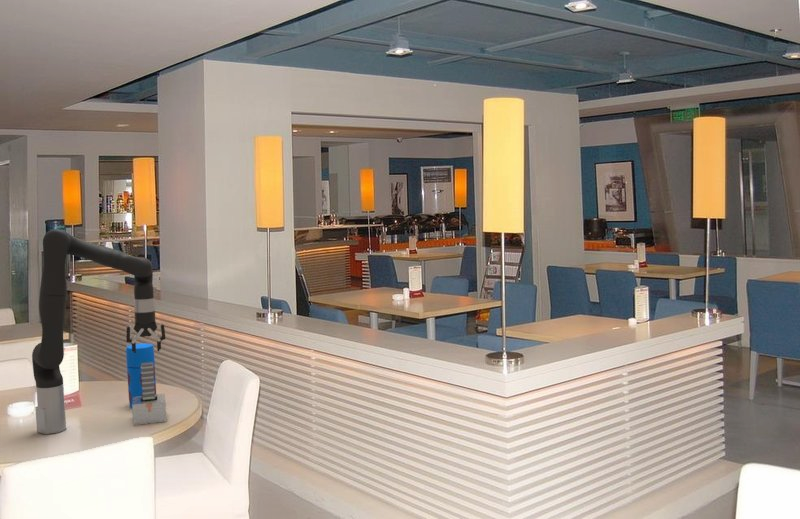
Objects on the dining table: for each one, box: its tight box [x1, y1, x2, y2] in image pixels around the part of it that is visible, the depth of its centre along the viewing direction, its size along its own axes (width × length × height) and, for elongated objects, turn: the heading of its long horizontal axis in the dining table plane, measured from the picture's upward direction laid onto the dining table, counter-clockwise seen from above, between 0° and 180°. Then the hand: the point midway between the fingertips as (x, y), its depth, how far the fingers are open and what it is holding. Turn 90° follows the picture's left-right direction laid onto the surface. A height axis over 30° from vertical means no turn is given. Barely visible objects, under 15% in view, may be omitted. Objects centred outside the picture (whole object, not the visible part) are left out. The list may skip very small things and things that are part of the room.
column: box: [141, 362, 155, 401], centre depth 304 cm, size 4×4×16 cm
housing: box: [131, 393, 167, 426], centre depth 304 cm, size 13×12×8 cm
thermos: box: [125, 343, 157, 410], centre depth 323 cm, size 11×11×25 cm
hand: (146, 351), depth 302 cm, fingers open, 8 cm apart
